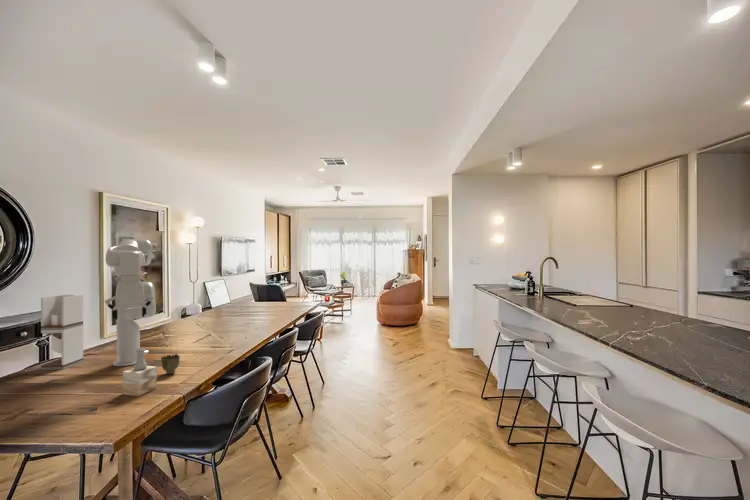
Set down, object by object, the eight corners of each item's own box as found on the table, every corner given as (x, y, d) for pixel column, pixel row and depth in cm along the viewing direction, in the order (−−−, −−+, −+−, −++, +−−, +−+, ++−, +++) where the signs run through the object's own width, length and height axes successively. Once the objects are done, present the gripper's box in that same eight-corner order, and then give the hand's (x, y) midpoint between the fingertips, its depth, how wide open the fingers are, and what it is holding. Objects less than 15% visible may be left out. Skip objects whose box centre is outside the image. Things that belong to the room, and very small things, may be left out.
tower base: (141, 386, 140) (141, 375, 141) (156, 388, 138) (156, 377, 138) (122, 394, 133) (122, 383, 133) (137, 396, 131) (137, 384, 131)
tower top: (141, 375, 140) (141, 365, 141) (156, 377, 138) (156, 366, 138) (122, 383, 133) (122, 371, 133) (138, 384, 131) (138, 373, 131)
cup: (182, 373, 156) (182, 355, 156) (164, 377, 150) (163, 359, 150) (176, 369, 161) (176, 352, 161) (159, 373, 155) (159, 356, 156)
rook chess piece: (139, 367, 138) (139, 347, 139) (149, 367, 138) (150, 347, 139) (130, 370, 134) (131, 350, 134) (141, 370, 134) (142, 349, 134)
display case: (62, 362, 174) (62, 294, 174) (83, 361, 174) (83, 294, 174) (40, 369, 162) (41, 297, 163) (63, 369, 163) (63, 297, 163)
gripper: (104, 280, 139) (104, 321, 140) (154, 278, 150) (154, 316, 150) (105, 279, 145) (105, 318, 146) (152, 277, 156) (152, 314, 156)
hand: (130, 317), depth 148 cm, fingers open, 9 cm apart
